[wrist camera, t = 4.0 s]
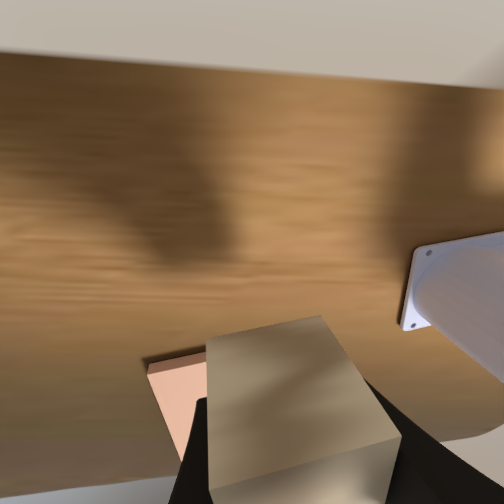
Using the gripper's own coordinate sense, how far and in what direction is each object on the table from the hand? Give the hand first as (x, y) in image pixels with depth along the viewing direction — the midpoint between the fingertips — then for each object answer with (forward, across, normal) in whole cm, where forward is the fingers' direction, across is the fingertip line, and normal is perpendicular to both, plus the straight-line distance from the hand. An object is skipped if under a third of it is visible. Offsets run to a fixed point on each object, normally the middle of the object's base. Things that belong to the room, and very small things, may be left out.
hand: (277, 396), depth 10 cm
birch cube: (+1, 0, 0) cm, 1 cm away
